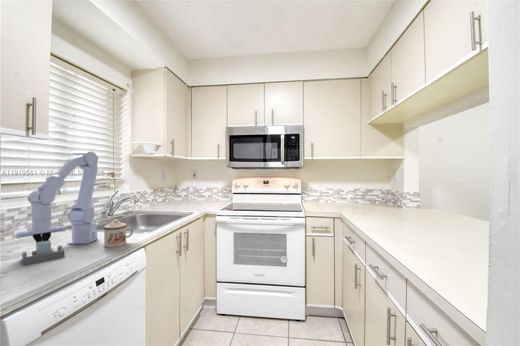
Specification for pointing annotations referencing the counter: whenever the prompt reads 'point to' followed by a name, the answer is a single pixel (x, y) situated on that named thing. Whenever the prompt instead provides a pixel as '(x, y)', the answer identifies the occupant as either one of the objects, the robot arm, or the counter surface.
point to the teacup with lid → (115, 234)
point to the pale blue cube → (43, 247)
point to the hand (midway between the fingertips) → (42, 251)
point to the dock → (43, 256)
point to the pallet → (39, 254)
